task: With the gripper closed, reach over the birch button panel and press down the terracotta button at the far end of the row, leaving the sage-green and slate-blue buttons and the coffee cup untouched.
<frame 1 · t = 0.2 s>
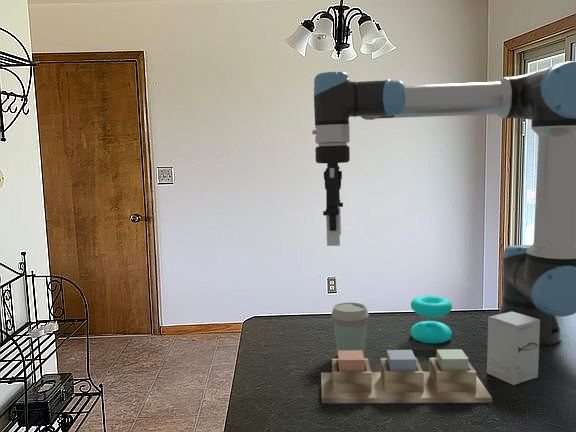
hand: (334, 240, 123), 28 cm above the table, tool pointing down, fingers open, 13 cm apart
coffee cup: (350, 357, 127), on the table
slate button: (401, 364, 109), point 5 cm above the table, slide at 0.0 cm
button panel: (401, 388, 110), on the table
sage button: (452, 363, 109), point 5 cm above the table, slide at 0.0 cm
terracotta button: (351, 364, 110), point 5 cm above the table, slide at 0.0 cm
donuts: (431, 338, 138), on the table
supplement box: (512, 376, 115), on the table
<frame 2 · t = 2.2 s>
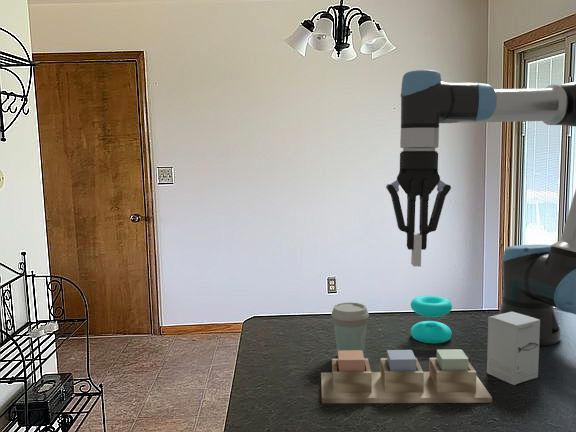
hand: (416, 265, 113), 24 cm above the table, tool pointing down, fingers closed
nothing on the table moved.
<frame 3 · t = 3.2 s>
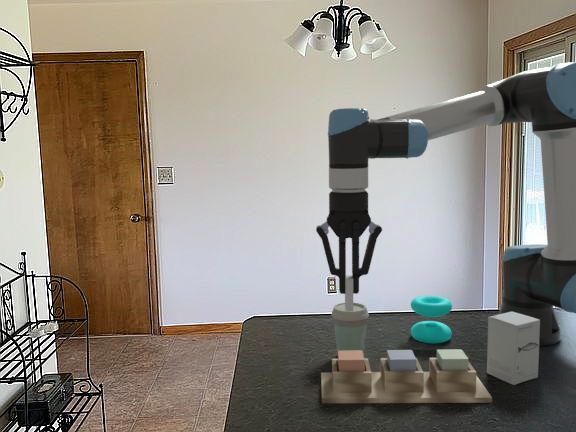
hand: (349, 309, 108), 17 cm above the table, tool pointing down, fingers closed
nothing on the table moved.
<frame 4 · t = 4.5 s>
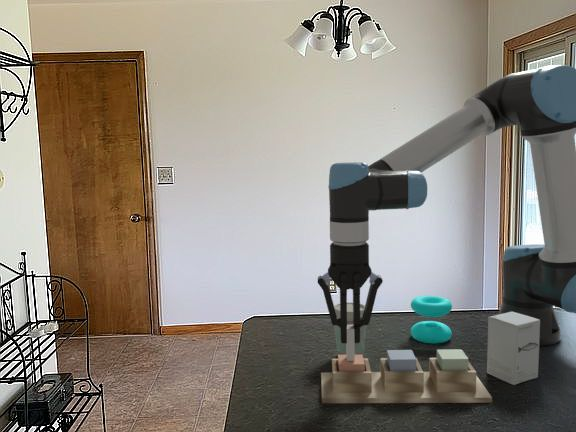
hand: (350, 358, 110), 7 cm above the table, tool pointing down, fingers closed
terracotta button: (351, 368, 110), point 4 cm above the table, slide at 0.9 cm, touching gripper
everything else where it was.
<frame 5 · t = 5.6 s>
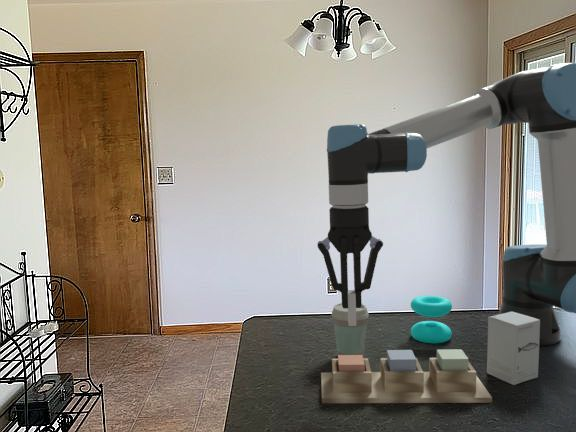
hand: (352, 323, 109), 14 cm above the table, tool pointing down, fingers closed
terracotta button: (351, 369, 110), point 4 cm above the table, slide at 1.0 cm
everything else where it was.
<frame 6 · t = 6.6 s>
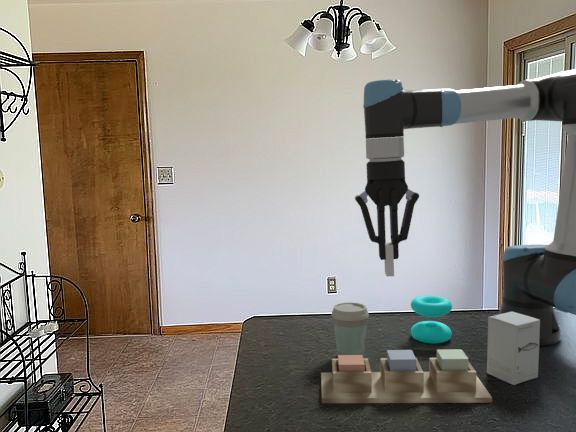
hand: (389, 274, 113), 22 cm above the table, tool pointing down, fingers closed
nothing on the table moved.
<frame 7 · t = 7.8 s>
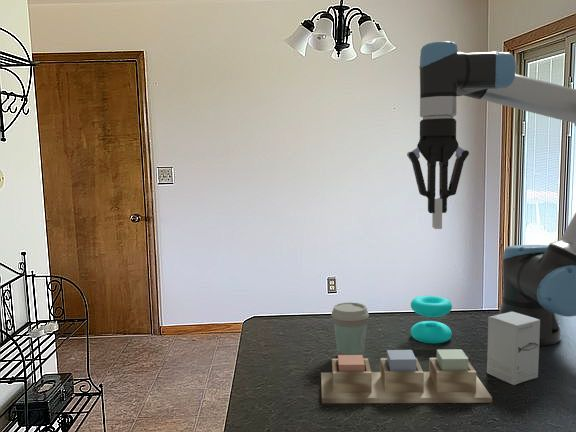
hand: (437, 227, 119), 30 cm above the table, tool pointing down, fingers closed
nothing on the table moved.
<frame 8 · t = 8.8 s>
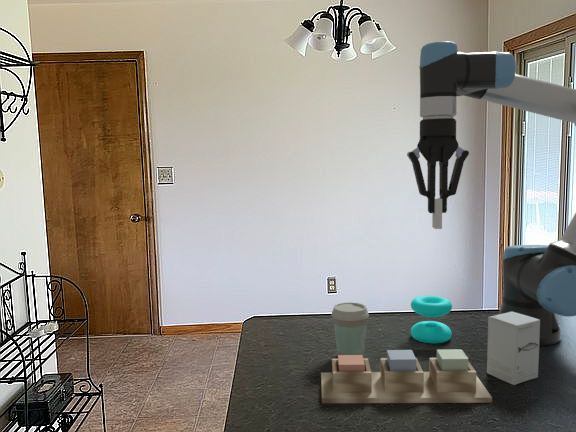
hand: (437, 227, 119), 30 cm above the table, tool pointing down, fingers closed
nothing on the table moved.
at the end: terracotta button slide at 1.0 cm; sage button slide at 0.0 cm; slate button slide at 0.0 cm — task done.
